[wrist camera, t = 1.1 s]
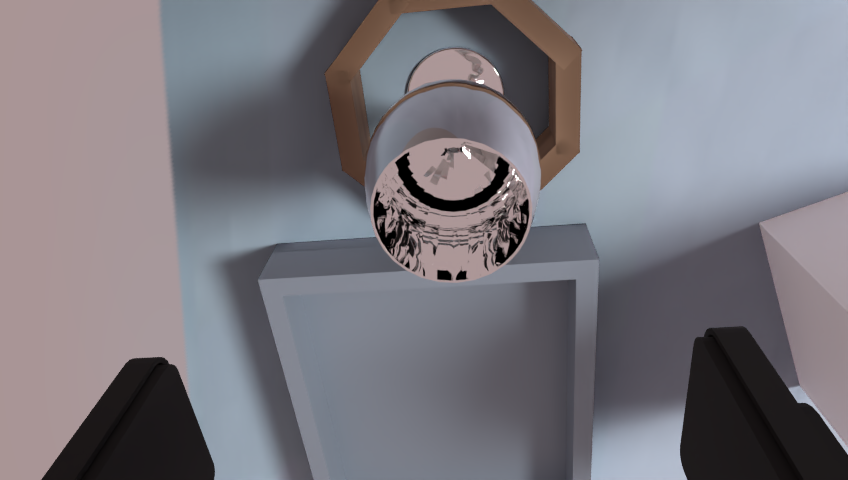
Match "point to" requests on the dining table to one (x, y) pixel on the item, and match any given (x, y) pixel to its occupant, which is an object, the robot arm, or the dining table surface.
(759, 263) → the dining table surface
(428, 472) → the tray
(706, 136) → the dining table surface
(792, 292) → the milk
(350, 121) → the collar
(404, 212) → the wineglass
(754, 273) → the dining table surface
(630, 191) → the dining table surface
